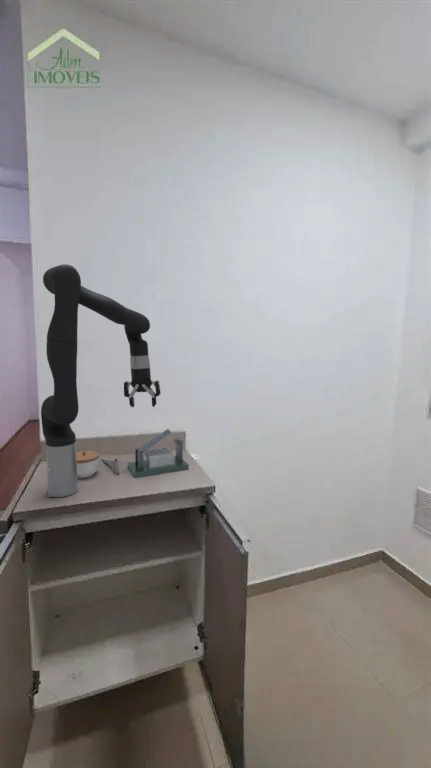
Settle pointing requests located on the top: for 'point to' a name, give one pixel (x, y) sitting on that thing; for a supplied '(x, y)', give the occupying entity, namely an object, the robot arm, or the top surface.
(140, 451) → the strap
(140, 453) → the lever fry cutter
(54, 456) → the robot arm
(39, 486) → the top surface
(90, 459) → the lidded jar
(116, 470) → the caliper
